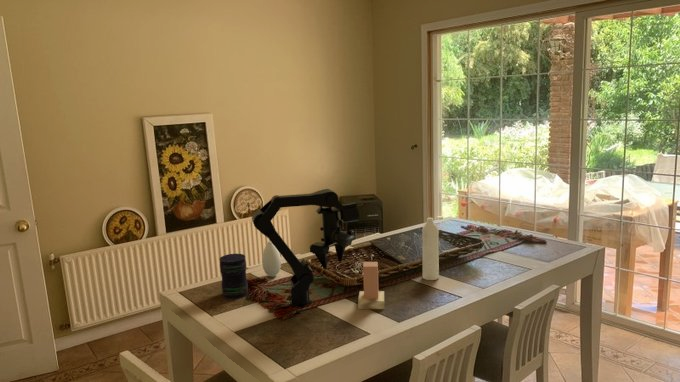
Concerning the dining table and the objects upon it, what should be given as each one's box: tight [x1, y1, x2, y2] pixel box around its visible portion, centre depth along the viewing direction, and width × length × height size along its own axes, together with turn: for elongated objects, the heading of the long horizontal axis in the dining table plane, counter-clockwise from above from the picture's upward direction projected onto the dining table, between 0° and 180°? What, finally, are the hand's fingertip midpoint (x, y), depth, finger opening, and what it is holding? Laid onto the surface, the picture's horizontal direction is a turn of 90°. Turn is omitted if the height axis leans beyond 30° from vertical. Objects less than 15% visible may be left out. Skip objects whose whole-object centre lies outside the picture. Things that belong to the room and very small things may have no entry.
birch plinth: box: [357, 290, 385, 310], centre depth 181 cm, size 9×9×3 cm
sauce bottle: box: [261, 240, 282, 278], centre depth 211 cm, size 8×8×18 cm
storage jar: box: [219, 253, 249, 300], centre depth 194 cm, size 10×10×15 cm
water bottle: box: [421, 215, 444, 281], centre depth 202 cm, size 9×6×25 cm
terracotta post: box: [362, 261, 380, 299], centre depth 179 cm, size 5×5×12 cm
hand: (332, 265), depth 184 cm, fingers open, 9 cm apart
